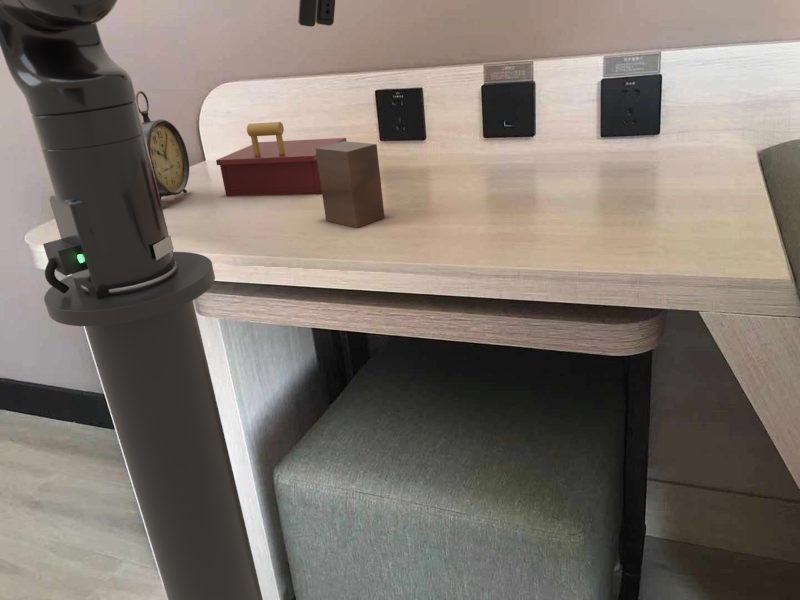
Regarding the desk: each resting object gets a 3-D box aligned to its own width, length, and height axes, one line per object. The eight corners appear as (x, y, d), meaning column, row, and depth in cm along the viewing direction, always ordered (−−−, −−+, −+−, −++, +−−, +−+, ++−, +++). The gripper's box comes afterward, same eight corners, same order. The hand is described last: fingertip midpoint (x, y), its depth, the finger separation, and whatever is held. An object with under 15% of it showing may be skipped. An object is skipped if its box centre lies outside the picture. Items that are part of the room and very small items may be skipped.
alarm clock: (164, 211, 98) (136, 94, 91) (130, 212, 99) (100, 97, 92) (198, 191, 108) (175, 85, 101) (167, 193, 109) (142, 88, 102)
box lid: (314, 161, 96) (308, 122, 94) (216, 165, 100) (209, 128, 98) (346, 142, 107) (342, 107, 105) (258, 147, 112) (252, 113, 110)
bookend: (357, 227, 80) (347, 151, 77) (325, 220, 85) (315, 148, 81) (384, 217, 83) (376, 143, 80) (353, 211, 87) (344, 141, 84)
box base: (321, 193, 98) (316, 160, 96) (226, 196, 103) (219, 164, 101) (350, 173, 109) (346, 143, 107) (263, 176, 114) (258, 147, 112)
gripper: (281, -111, 89) (274, 22, 94) (310, -135, 76) (300, 19, 81) (336, -98, 92) (327, 30, 97) (373, -120, 79) (359, 28, 84)
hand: (315, 25), depth 89 cm, fingers open, 8 cm apart
